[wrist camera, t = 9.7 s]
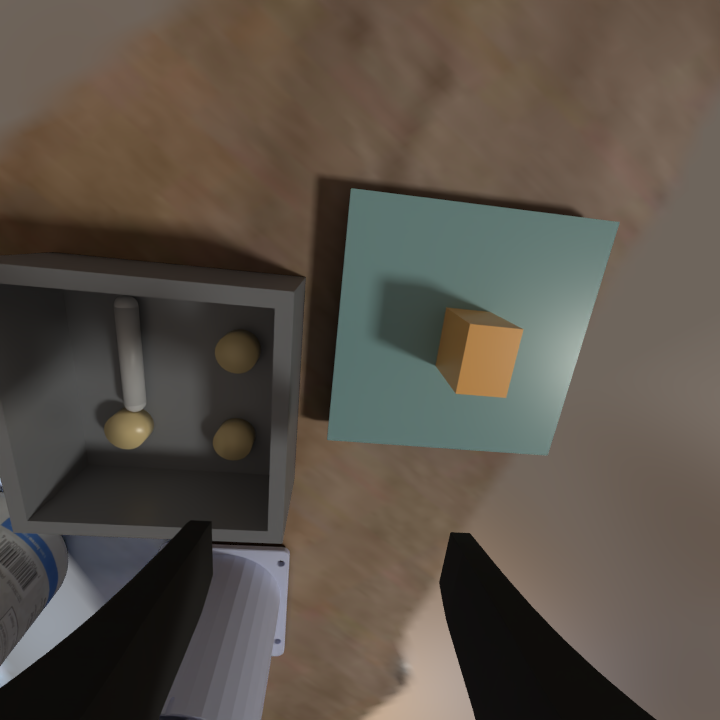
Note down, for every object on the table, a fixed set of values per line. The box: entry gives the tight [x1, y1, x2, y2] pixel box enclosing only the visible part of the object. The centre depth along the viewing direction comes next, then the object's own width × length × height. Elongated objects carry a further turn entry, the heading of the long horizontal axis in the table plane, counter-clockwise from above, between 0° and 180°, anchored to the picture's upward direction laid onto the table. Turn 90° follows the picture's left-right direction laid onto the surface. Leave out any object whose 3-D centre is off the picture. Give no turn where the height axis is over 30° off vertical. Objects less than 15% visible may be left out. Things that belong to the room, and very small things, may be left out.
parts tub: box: [0, 252, 306, 544], centre depth 18 cm, size 12×12×5 cm
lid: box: [327, 188, 620, 455], centre depth 18 cm, size 12×12×5 cm
